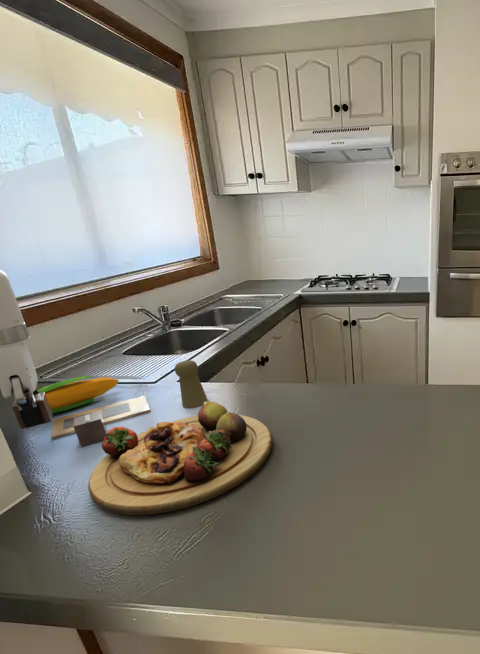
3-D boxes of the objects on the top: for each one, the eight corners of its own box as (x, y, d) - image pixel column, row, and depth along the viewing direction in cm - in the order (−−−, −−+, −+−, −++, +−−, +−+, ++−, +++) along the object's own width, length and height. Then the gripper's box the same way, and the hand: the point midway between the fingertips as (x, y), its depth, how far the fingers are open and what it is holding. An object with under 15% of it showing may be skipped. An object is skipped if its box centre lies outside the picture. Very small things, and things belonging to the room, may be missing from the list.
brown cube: (81, 447, 89) (73, 426, 87) (81, 437, 93) (73, 417, 91) (108, 439, 92) (100, 418, 90) (107, 430, 96) (100, 410, 94)
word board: (52, 439, 94) (51, 436, 93) (55, 421, 102) (53, 418, 102) (150, 411, 103) (149, 409, 103) (145, 397, 112) (144, 394, 112)
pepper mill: (192, 410, 102) (181, 367, 98) (177, 405, 106) (165, 364, 102) (212, 399, 107) (203, 359, 103) (197, 396, 110) (187, 356, 106)
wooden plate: (47, 500, 73) (29, 459, 70) (184, 415, 100) (175, 383, 97) (194, 537, 62) (180, 490, 58) (302, 430, 89) (296, 394, 86)
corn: (20, 387, 104) (109, 362, 117) (31, 414, 107) (117, 387, 120) (25, 396, 99) (118, 370, 112) (37, 424, 102) (126, 395, 115)
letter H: (21, 429, 85) (11, 406, 83) (23, 420, 89) (14, 398, 87) (51, 421, 87) (42, 399, 85) (52, 413, 91) (44, 391, 89)
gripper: (-14, 330, 86) (19, 410, 93) (-31, 351, 72) (8, 442, 79) (32, 323, 90) (60, 401, 96) (23, 342, 76) (56, 430, 83)
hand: (36, 419), depth 88 cm, fingers closed on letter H, 5 cm apart
